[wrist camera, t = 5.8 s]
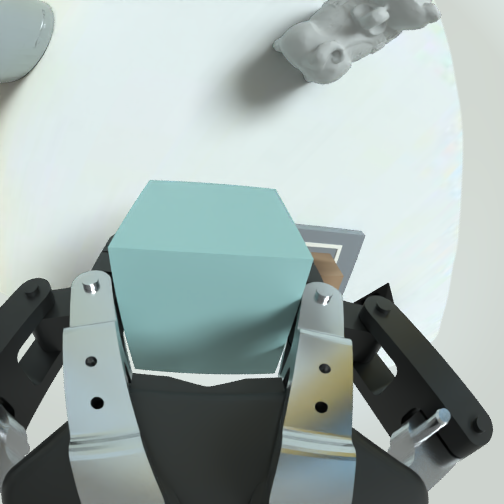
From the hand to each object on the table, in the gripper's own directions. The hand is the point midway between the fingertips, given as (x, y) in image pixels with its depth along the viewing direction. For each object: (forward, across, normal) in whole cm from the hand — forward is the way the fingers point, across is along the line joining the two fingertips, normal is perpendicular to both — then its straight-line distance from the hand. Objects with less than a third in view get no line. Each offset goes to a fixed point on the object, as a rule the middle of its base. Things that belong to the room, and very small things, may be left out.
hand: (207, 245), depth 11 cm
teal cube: (+1, 0, 0) cm, 1 cm away
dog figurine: (+14, -8, -14) cm, 22 cm away
